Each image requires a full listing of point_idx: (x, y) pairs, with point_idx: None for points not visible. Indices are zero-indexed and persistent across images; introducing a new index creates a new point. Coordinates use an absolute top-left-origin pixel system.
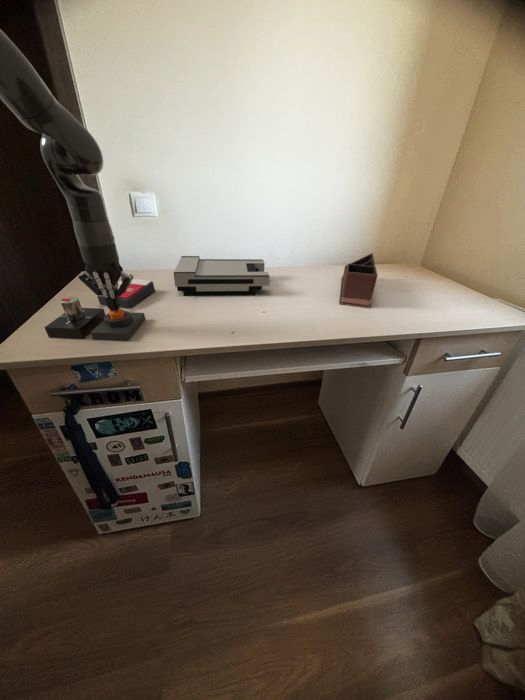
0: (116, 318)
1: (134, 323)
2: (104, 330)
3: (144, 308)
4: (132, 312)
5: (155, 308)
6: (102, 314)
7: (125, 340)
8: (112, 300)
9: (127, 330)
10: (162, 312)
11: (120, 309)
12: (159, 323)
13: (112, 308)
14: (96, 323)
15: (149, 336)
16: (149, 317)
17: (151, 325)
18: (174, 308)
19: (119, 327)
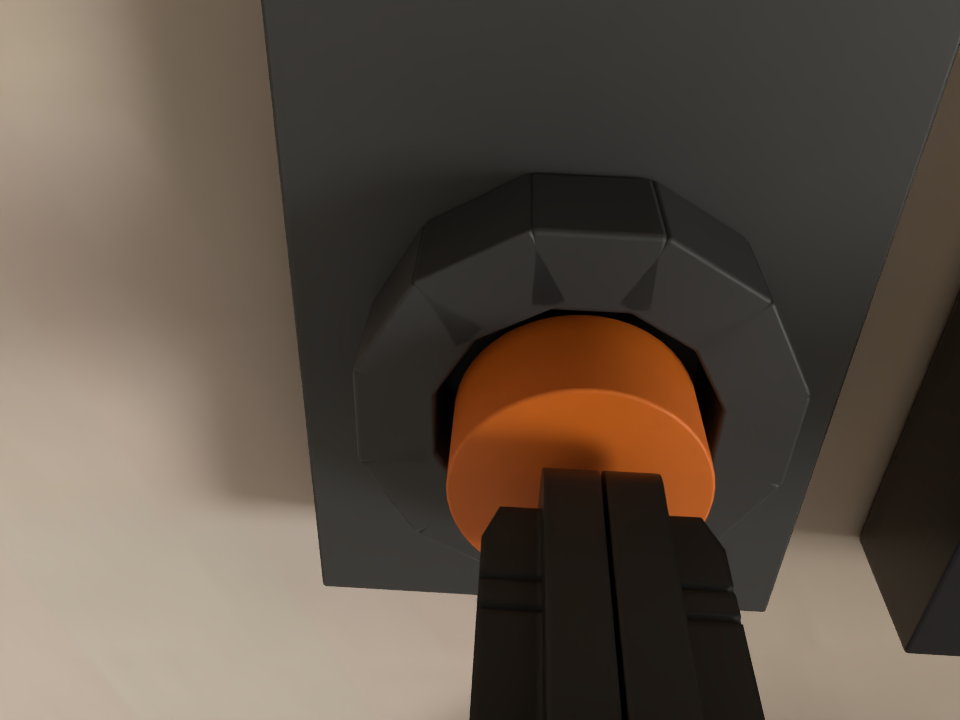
0: (545, 337)
1: (299, 318)
2: (721, 61)
3: None
4: None
5: (353, 709)
6: (904, 558)
7: None
8: (559, 677)
9: (291, 80)
10: (231, 644)
11: None
12: (119, 434)
13: (607, 511)
14: (953, 378)
15: (39, 96)
16: None
17: (193, 388)
18: (148, 709)
19: (488, 186)
